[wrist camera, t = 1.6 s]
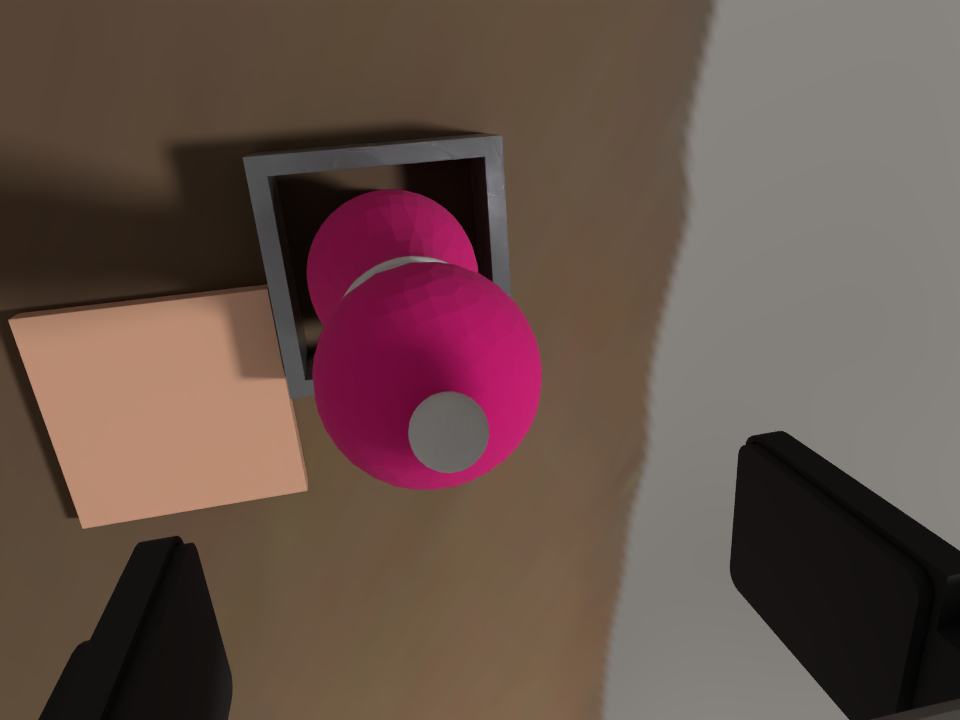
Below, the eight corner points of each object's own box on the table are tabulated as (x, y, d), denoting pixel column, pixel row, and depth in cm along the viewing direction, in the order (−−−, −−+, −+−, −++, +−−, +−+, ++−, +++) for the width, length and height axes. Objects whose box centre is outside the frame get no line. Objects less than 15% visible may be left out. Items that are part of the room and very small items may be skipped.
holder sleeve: (252, 152, 29) (242, 157, 26) (484, 132, 31) (501, 135, 27) (294, 371, 33) (290, 399, 29) (498, 342, 34) (514, 366, 31)
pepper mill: (352, 349, 33) (371, 643, 15) (282, 217, 30) (198, 380, 12) (480, 290, 33) (657, 506, 15) (424, 155, 30) (557, 217, 12)
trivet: (18, 313, 29) (8, 319, 28) (269, 284, 31) (267, 289, 30) (89, 517, 33) (83, 528, 32) (307, 480, 35) (307, 490, 34)
